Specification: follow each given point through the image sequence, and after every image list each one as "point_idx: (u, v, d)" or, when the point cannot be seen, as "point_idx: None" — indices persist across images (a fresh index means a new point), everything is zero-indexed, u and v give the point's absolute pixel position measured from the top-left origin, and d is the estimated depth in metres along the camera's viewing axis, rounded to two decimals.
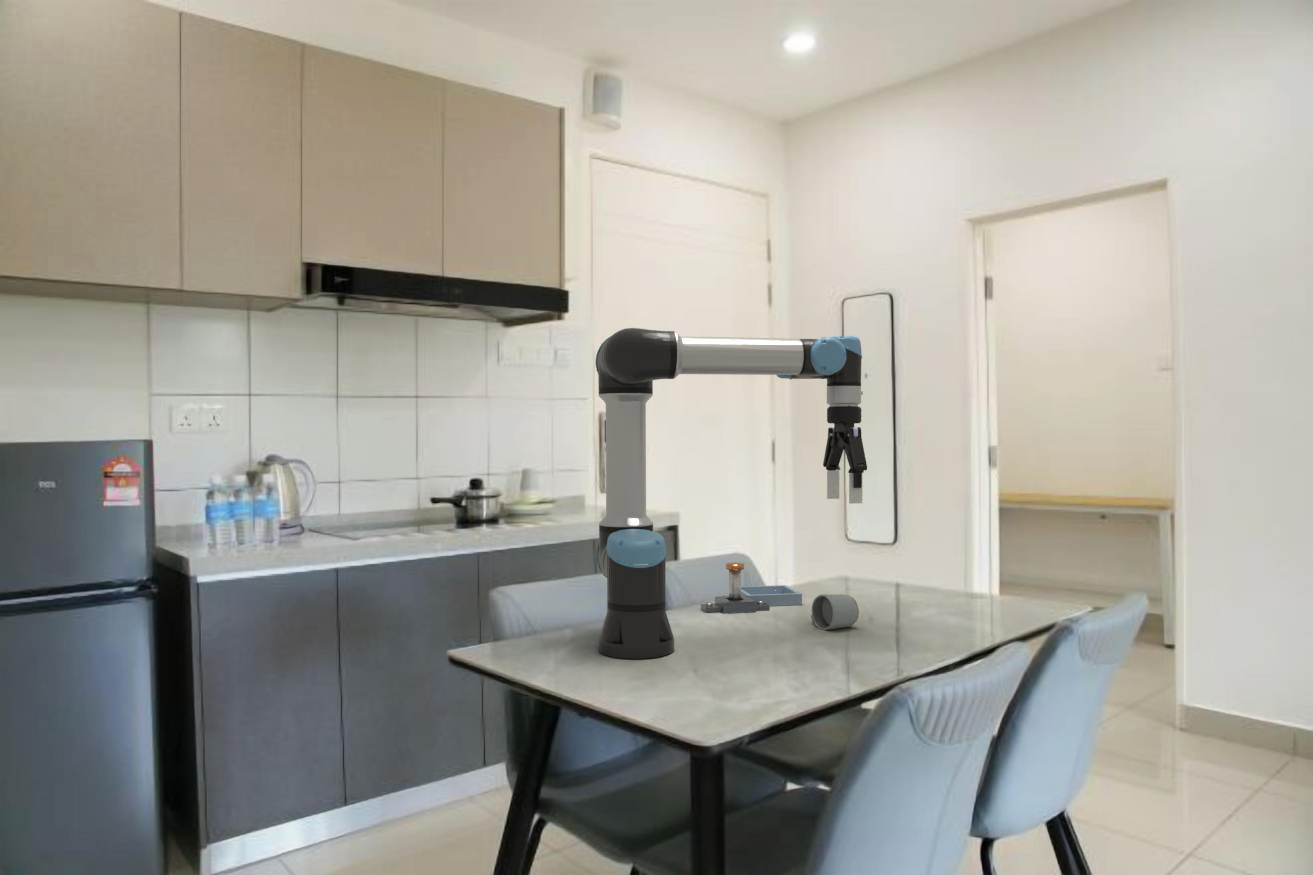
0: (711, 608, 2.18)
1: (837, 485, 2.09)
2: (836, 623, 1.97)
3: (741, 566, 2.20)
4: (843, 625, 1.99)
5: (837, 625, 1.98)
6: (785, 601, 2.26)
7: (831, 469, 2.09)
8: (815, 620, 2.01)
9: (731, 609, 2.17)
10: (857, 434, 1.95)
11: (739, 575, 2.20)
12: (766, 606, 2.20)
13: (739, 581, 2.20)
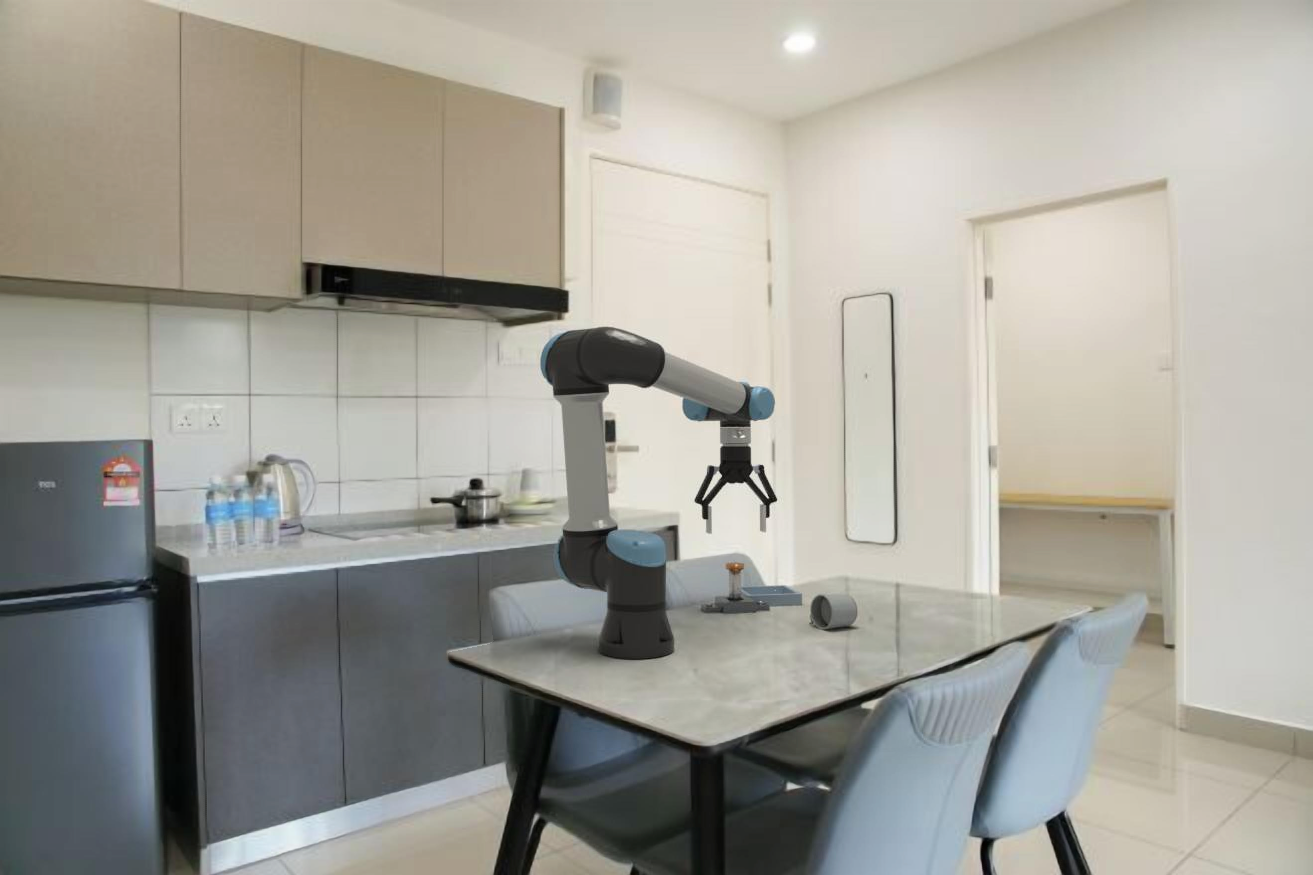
0: (711, 608, 2.18)
1: (762, 519, 2.21)
2: (835, 623, 1.97)
3: (741, 566, 2.20)
4: (842, 625, 1.99)
5: (836, 625, 1.98)
6: (785, 601, 2.26)
7: (763, 503, 2.22)
8: (814, 620, 2.02)
9: (731, 609, 2.17)
10: (708, 471, 2.19)
11: (739, 575, 2.20)
12: (766, 606, 2.20)
13: (739, 581, 2.20)
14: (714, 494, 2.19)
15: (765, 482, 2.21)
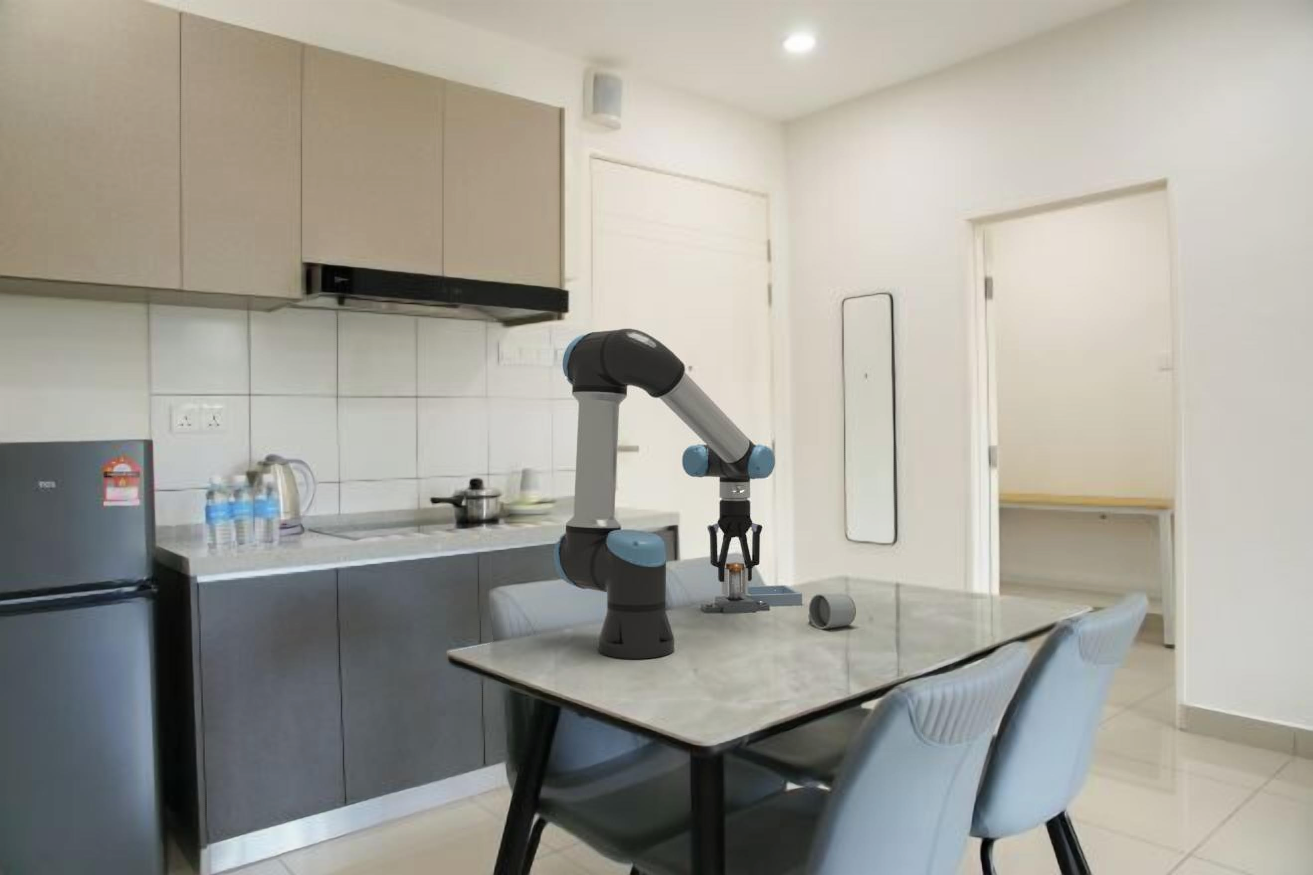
0: (711, 608, 2.18)
1: (744, 582, 2.21)
2: (833, 622, 1.98)
3: (741, 566, 2.20)
4: (840, 624, 2.00)
5: (834, 624, 1.98)
6: (785, 601, 2.26)
7: None
8: (812, 619, 2.02)
9: (731, 609, 2.17)
10: (710, 532, 2.20)
11: (739, 575, 2.20)
12: (766, 606, 2.20)
13: (739, 581, 2.20)
14: (725, 554, 2.19)
15: (756, 542, 2.21)
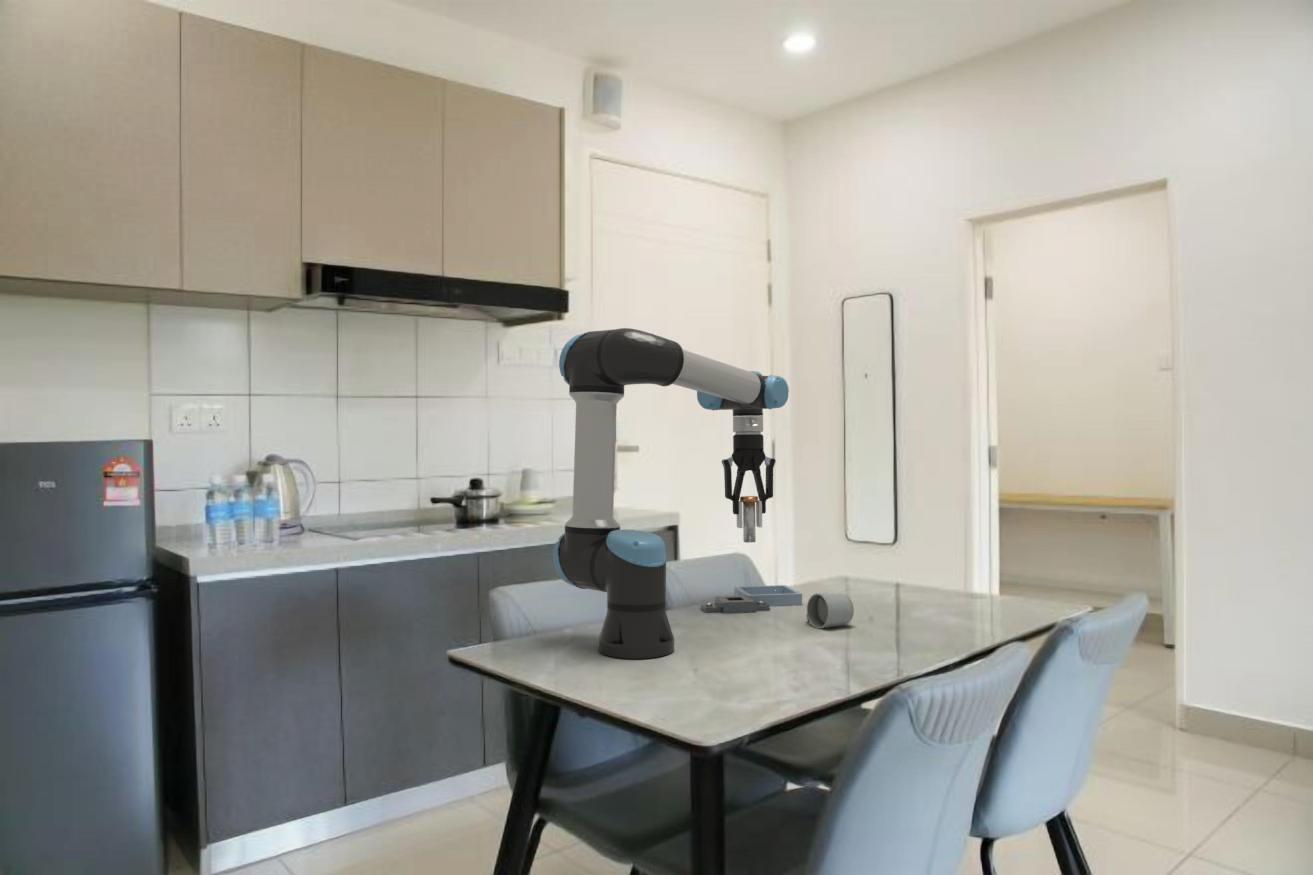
0: (711, 608, 2.18)
1: (758, 514, 2.25)
2: (831, 622, 1.98)
3: (755, 499, 2.24)
4: (838, 623, 2.00)
5: (832, 623, 1.99)
6: (785, 601, 2.26)
7: (759, 499, 2.26)
8: (810, 619, 2.03)
9: (731, 609, 2.17)
10: (725, 466, 2.24)
11: (753, 508, 2.25)
12: (766, 606, 2.20)
13: (753, 513, 2.25)
14: (739, 487, 2.24)
15: (770, 476, 2.25)
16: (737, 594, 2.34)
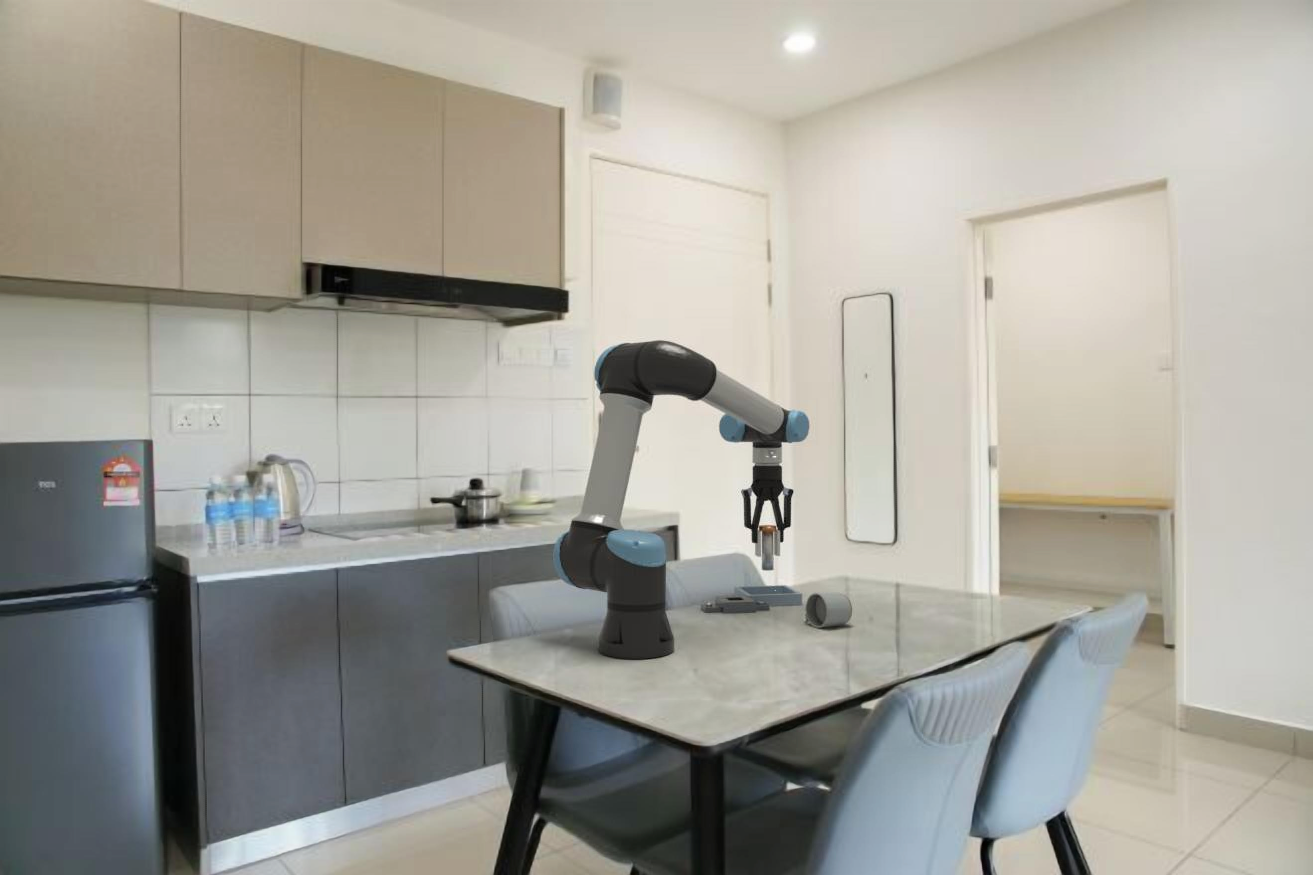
0: (711, 608, 2.18)
1: (776, 543, 2.32)
2: (830, 621, 1.99)
3: (773, 528, 2.30)
4: (837, 623, 2.01)
5: (831, 623, 2.00)
6: (785, 601, 2.26)
7: (777, 528, 2.33)
8: (809, 618, 2.03)
9: (731, 609, 2.17)
10: (744, 496, 2.30)
11: (772, 536, 2.31)
12: (766, 606, 2.20)
13: (772, 542, 2.31)
14: (758, 516, 2.30)
15: (788, 506, 2.32)
16: (737, 594, 2.34)
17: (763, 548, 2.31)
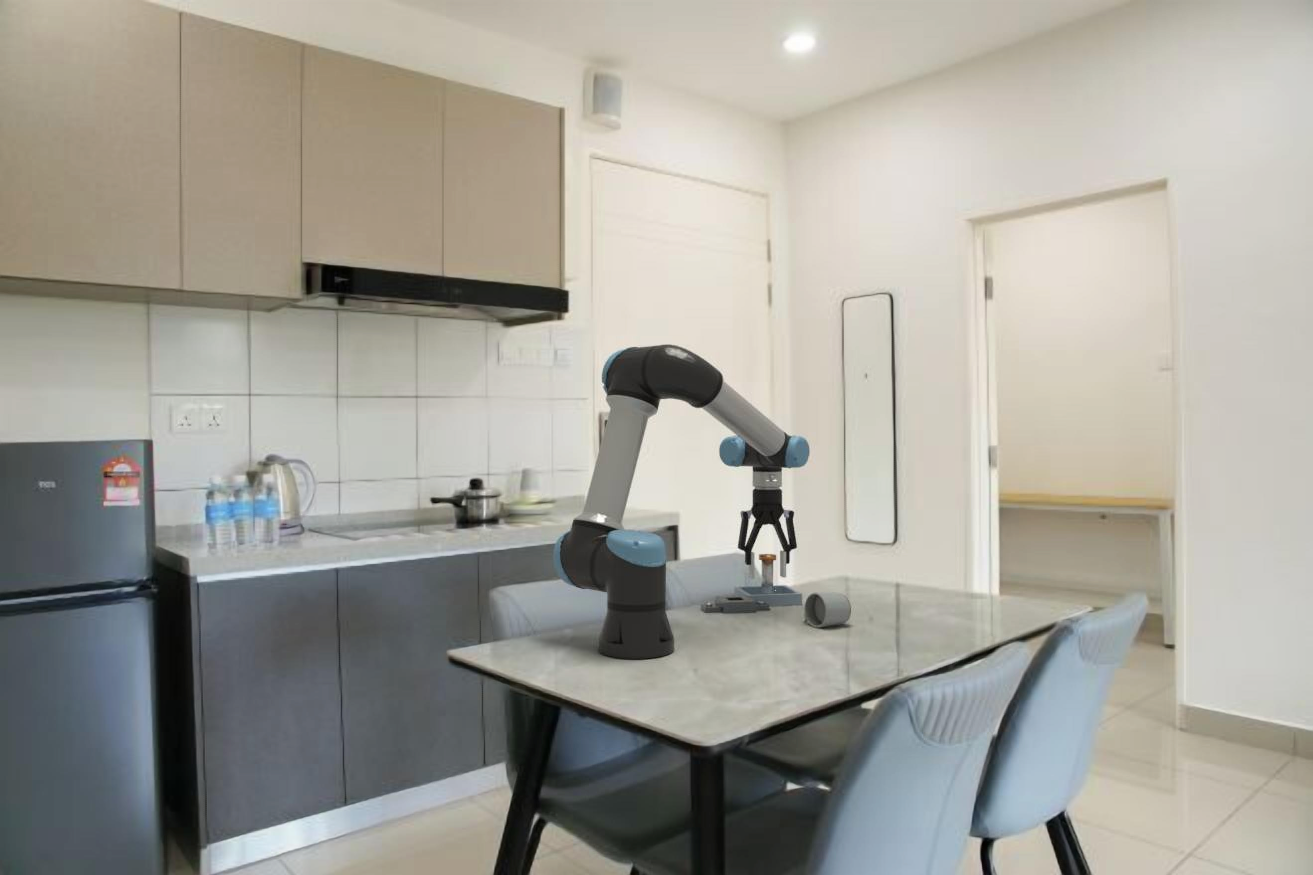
0: (711, 608, 2.18)
1: (782, 565, 2.32)
2: (829, 621, 1.99)
3: (774, 557, 2.31)
4: (836, 623, 2.01)
5: (830, 623, 2.00)
6: (785, 601, 2.26)
7: (783, 550, 2.33)
8: (808, 618, 2.04)
9: (731, 609, 2.17)
10: (743, 517, 2.30)
11: (771, 565, 2.31)
12: (766, 606, 2.20)
13: (771, 571, 2.31)
14: (754, 539, 2.30)
15: (791, 528, 2.32)
16: (737, 594, 2.34)
17: (763, 577, 2.31)
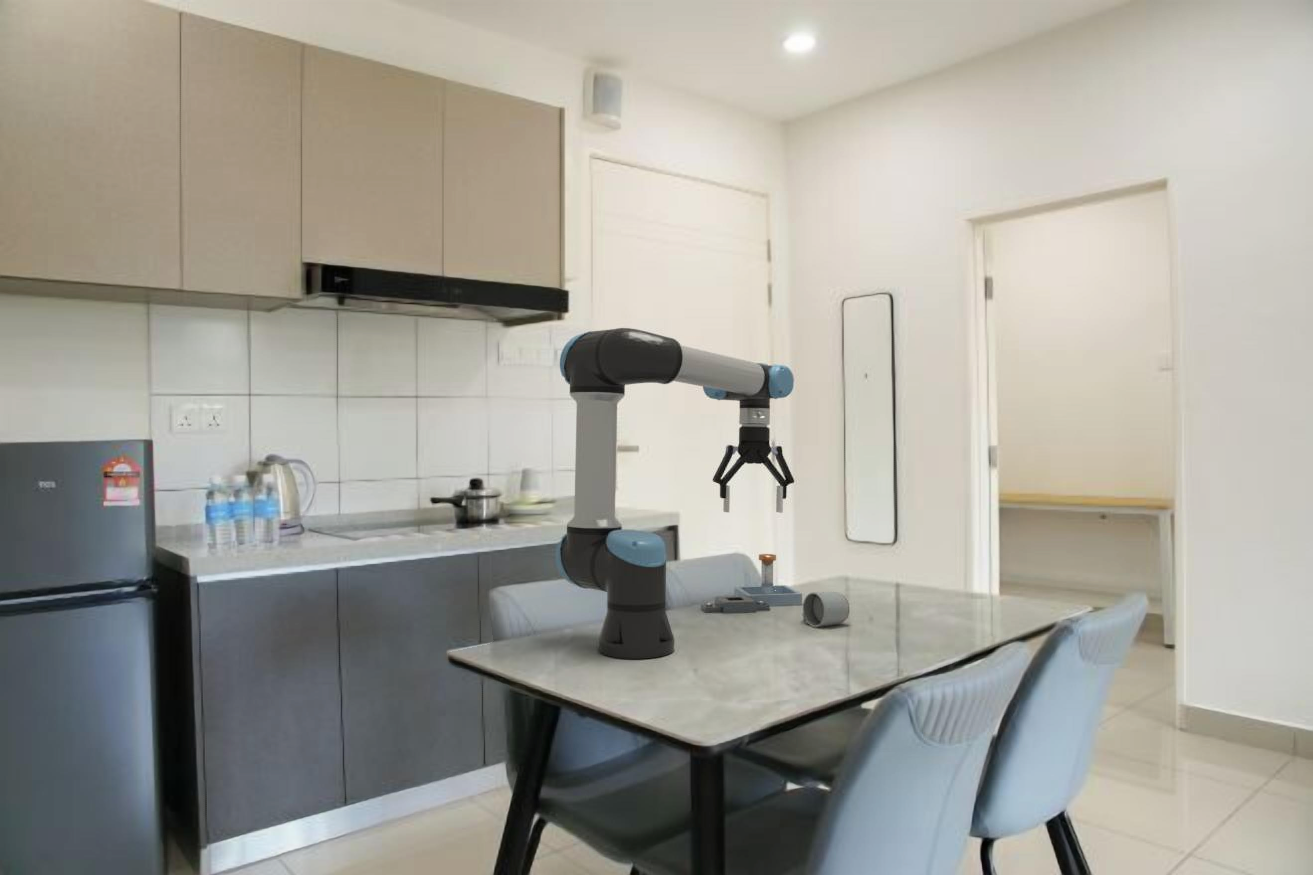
0: (711, 608, 2.18)
1: (779, 500, 2.24)
2: (827, 620, 2.00)
3: (773, 557, 2.30)
4: (834, 622, 2.02)
5: (828, 622, 2.00)
6: (785, 601, 2.26)
7: (780, 485, 2.25)
8: (806, 617, 2.04)
9: (731, 609, 2.17)
10: (727, 451, 2.22)
11: (771, 566, 2.31)
12: (766, 606, 2.20)
13: (771, 571, 2.31)
14: (732, 473, 2.21)
15: (783, 463, 2.24)
16: (737, 594, 2.34)
17: (763, 577, 2.31)
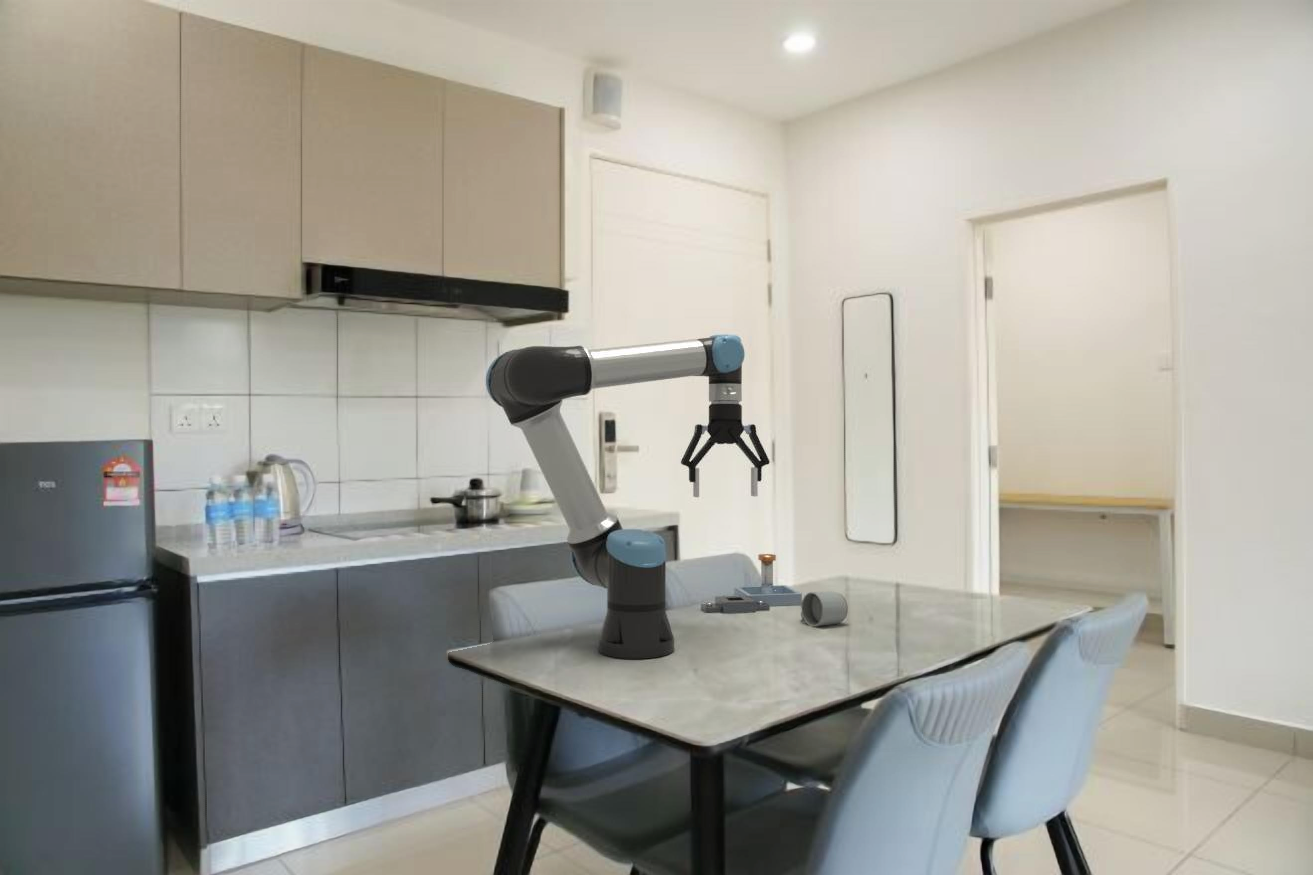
0: (711, 608, 2.18)
1: (753, 482, 2.06)
2: (825, 620, 2.00)
3: (773, 557, 2.30)
4: (832, 622, 2.02)
5: (826, 622, 2.01)
6: (785, 601, 2.26)
7: None
8: (805, 617, 2.05)
9: (731, 609, 2.17)
10: (696, 430, 2.04)
11: (771, 566, 2.31)
12: (766, 606, 2.20)
13: (771, 571, 2.31)
14: (702, 455, 2.04)
15: (757, 443, 2.06)
16: (737, 594, 2.34)
17: (763, 577, 2.31)
